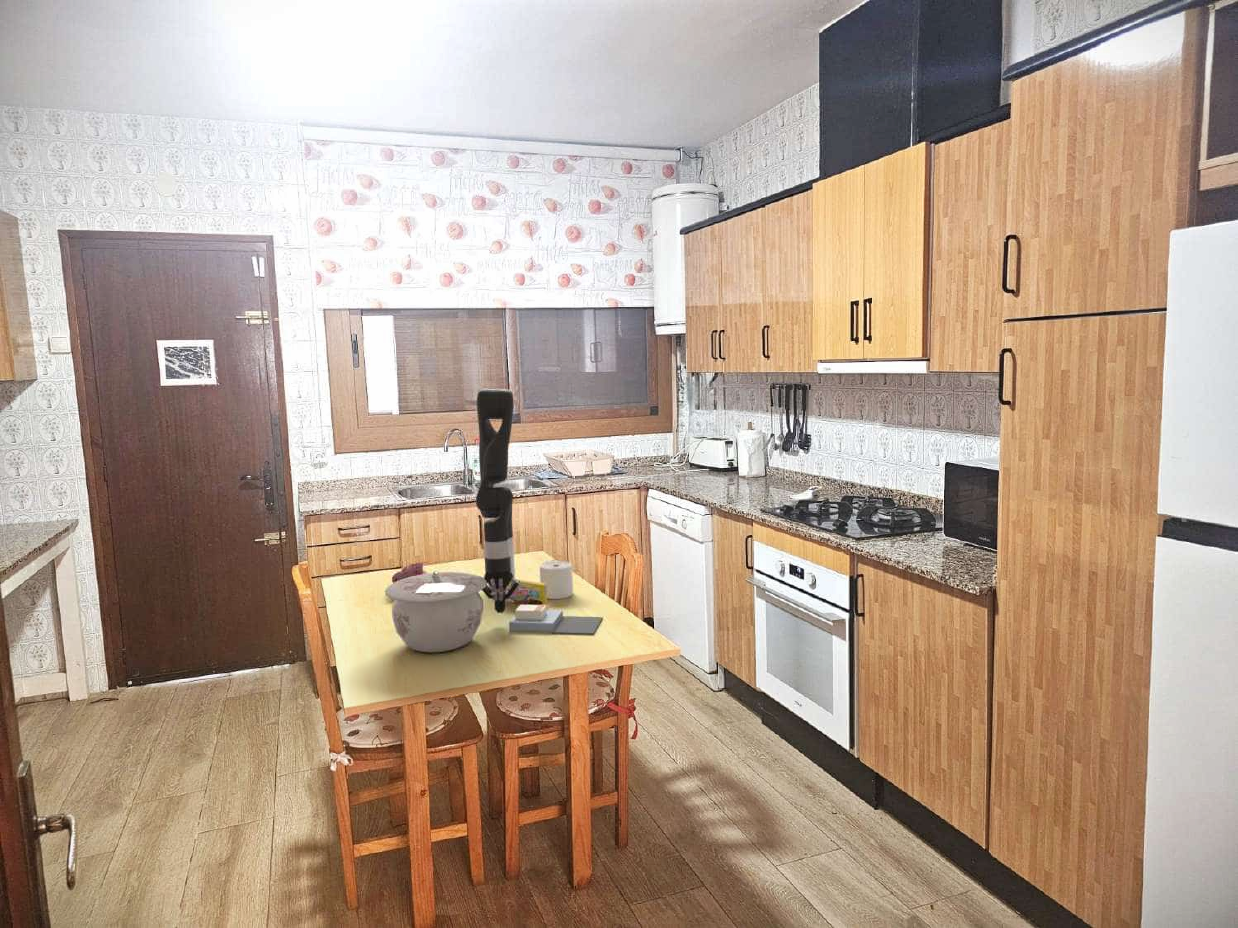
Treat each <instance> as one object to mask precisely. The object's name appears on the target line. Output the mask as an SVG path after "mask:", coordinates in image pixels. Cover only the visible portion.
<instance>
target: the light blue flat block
mask: <svg viewBox="0 0 1238 928" xmlns="http://www.w3.org/2000/svg"><path fill="white" fill-rule="evenodd" d="M563 614H564V611H563V609H547V614H546V615H545V617H544V618H543V619H516V617H515V615H514V616H513V617H512V618H511V619H510V621H508V629H509V631H511V632H543V633H544V632H545V633H546V632H547V633H548V632H550V633H552V631H553V630H554V629H555V627H556V626H557V624H558V623H559V621H560V620H561V619H562V617H563V616H564V615H563Z"/></svg>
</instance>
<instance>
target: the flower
mask: <svg viewBox="0 0 1238 928" xmlns="http://www.w3.org/2000/svg"><path fill="white" fill-rule="evenodd" d="M423 569H424V562H420V561H419V562H417V563H412V564H409V565H408V566H404V567H403V568H402V569H400V571H397V572H396V573H394V574H393V575H392V577H391V581H392V584H393V583H395V582H397V581H399V580H402V579H405V578H409V577H412V576H417V575H422V574H428V573H427V571H425V570H423Z"/></svg>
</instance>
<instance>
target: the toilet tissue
mask: <svg viewBox="0 0 1238 928" xmlns="http://www.w3.org/2000/svg"><path fill="white" fill-rule="evenodd" d="M539 581H540V582H539V583H546V592H547V600H560V599H561V600H562V599H567V598H570V597H572V596H573V595H574V588H573V587H574V584H573V583H574V582H573V564H572V562H569V561H563V560H562V561H560V560H557V561H556V558H555V559H550V560H547V561H545V562H543V563H542V564H540V565H539ZM569 596H570V597H569Z"/></svg>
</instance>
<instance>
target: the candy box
mask: <svg viewBox="0 0 1238 928" xmlns="http://www.w3.org/2000/svg"><path fill="white" fill-rule="evenodd" d="M515 580H517V581H518V580H519V581H520V584H519V586H518V587H517V588H516V590H515V591H514V592H513V594H512V595H511V596H510V597H509V598H508V599H505V605H509V606H510V605H511V606H516V607H519V606H520V605H547V606H548V599H547V592H546V583H540V582H538V581H530V580H524V579H523V580H522V579H516V578H515ZM511 587H512V586H511V582H510V583H509V585H508V586H507V587H506V594H507V593H508V591H509V590H510V589H511Z"/></svg>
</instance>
